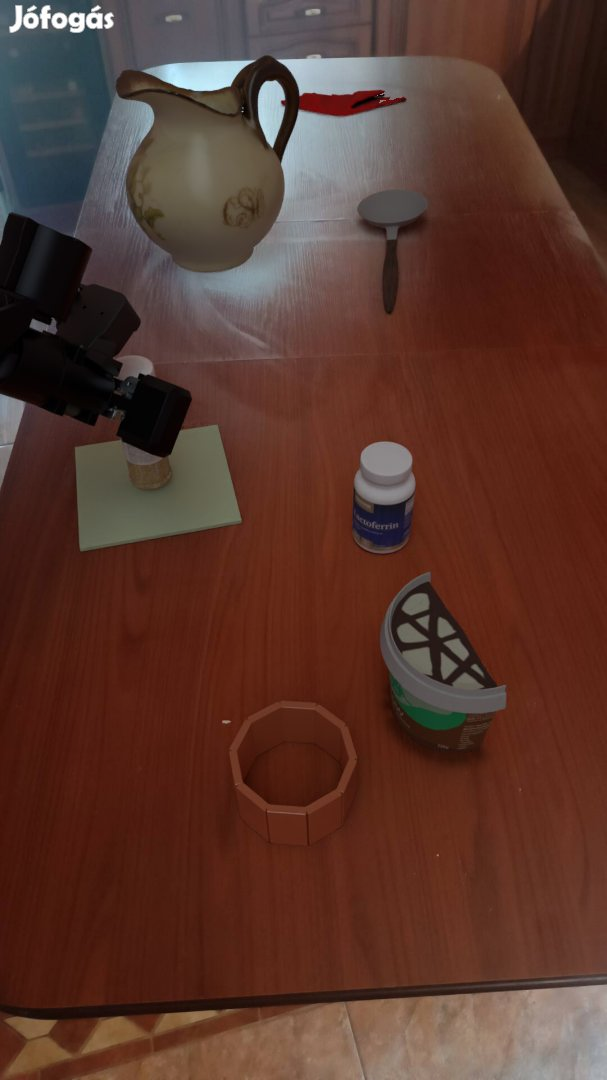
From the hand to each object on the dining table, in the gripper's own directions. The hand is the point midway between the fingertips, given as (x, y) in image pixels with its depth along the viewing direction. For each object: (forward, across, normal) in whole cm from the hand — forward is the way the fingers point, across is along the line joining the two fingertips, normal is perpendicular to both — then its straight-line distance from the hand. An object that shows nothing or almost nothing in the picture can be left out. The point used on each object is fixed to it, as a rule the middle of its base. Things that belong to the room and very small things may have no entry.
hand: (148, 411), depth 79 cm
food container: (-1, -36, +14) cm, 39 cm away
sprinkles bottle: (+5, 0, +6) cm, 8 cm away
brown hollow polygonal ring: (-9, -32, +22) cm, 39 cm away
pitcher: (+37, +27, -25) cm, 53 cm away
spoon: (+46, +3, -34) cm, 57 cm away
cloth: (+82, +44, -72) cm, 118 cm away
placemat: (+6, 0, +7) cm, 9 cm away
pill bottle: (+10, -24, +3) cm, 26 cm away
